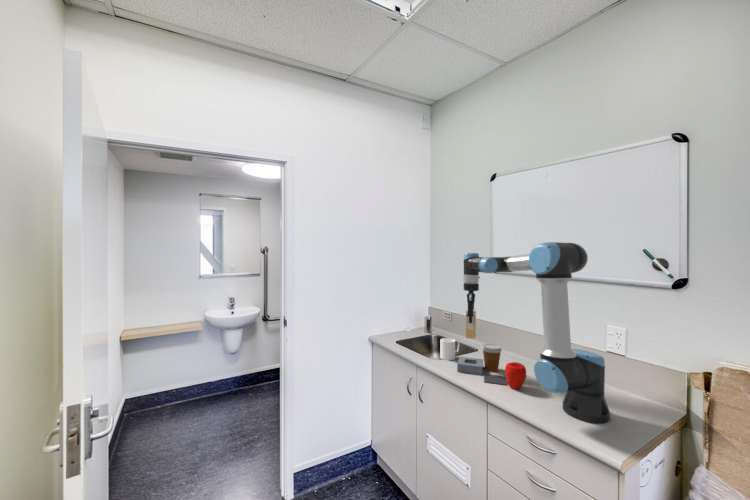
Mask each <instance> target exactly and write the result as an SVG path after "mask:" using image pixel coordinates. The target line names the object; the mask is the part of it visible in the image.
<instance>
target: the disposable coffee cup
mask: <svg viewBox="0 0 750 500" xmlns="http://www.w3.org/2000/svg"><path fill="white" fill-rule="evenodd" d="M481 349H482V353H483V365H484V369H485V370H486V371H487V372H491V373H494V372H498V371H499V367H500V366H499V365H500V358H501V353H502V351H503V350H502V347H501V346H500V345H497V344H494V343H485V344H483V345H482V347H481Z"/></svg>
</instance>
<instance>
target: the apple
mask: <svg viewBox="0 0 750 500" xmlns="http://www.w3.org/2000/svg"><path fill="white" fill-rule="evenodd" d="M504 370H505V372H504V374H505V375H504V376H505V377H506V379H507V386H509V387H510V388H511V389H514V390H515V389H521V388H522V387H523V385H524V383H525V382H526V381H525V380H526V378H527V369H526V367H525V365H523V363H520V362H513V361H512V362H508V363H506V365H505V369H504Z"/></svg>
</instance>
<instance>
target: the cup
mask: <svg viewBox="0 0 750 500" xmlns="http://www.w3.org/2000/svg"><path fill="white" fill-rule="evenodd" d="M456 341H457V350H456ZM439 343H440V344H439V345H440V348H439V349H440V350H439V351H440V353H439V355H440V356H439V357H440V359H441V360H445V361H454V360H456V353H459V350H460V346H461V345H460V340H459V339H458V338H450V337H447V338H446V337H445V338H444V337H443V338H440V341H439Z"/></svg>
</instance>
